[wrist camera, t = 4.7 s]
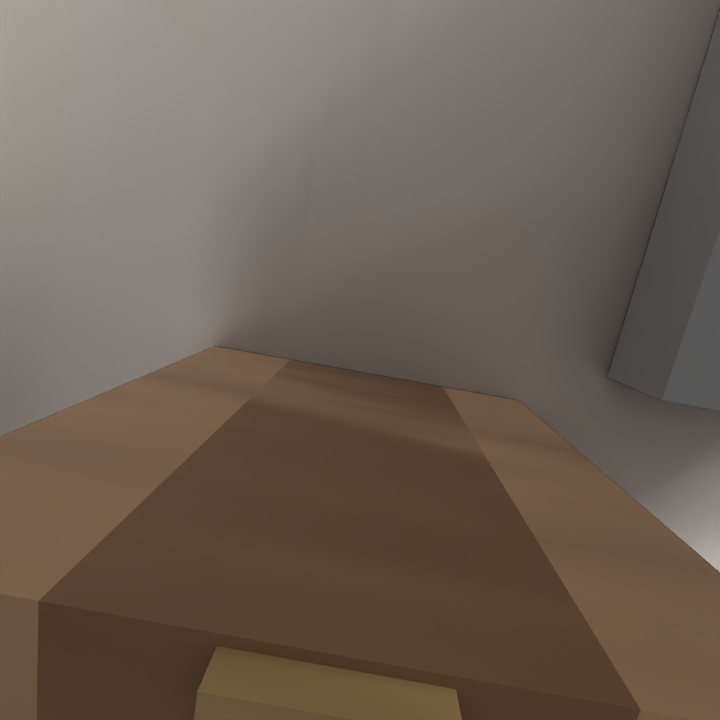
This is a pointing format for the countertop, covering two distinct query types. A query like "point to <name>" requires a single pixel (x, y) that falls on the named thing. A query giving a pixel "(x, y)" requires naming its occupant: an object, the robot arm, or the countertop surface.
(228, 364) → the brown hollow block
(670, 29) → the countertop surface
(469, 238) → the countertop surface
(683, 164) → the shaft stand
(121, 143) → the countertop surface
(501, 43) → the countertop surface
